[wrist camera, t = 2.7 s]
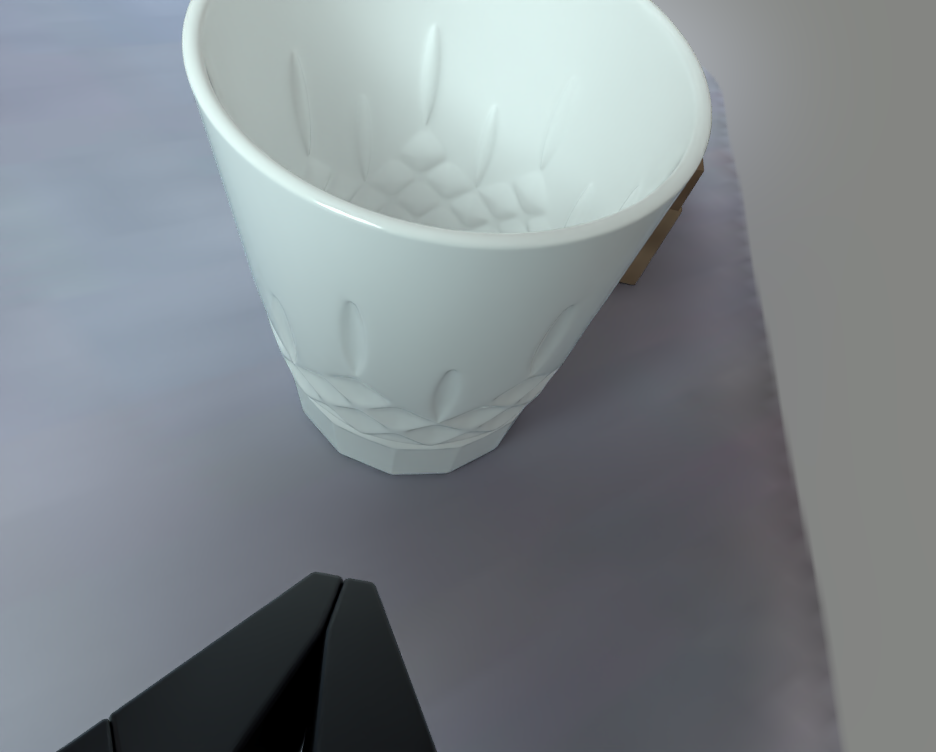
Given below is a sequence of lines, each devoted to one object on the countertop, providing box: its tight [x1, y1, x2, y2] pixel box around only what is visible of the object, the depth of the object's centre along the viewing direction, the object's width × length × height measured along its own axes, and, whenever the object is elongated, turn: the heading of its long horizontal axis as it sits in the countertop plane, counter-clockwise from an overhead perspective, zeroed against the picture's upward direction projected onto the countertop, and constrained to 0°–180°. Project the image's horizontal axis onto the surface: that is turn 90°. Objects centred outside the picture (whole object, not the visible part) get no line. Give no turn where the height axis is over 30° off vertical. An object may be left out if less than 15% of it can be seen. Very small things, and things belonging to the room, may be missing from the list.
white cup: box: [182, 0, 712, 475], centre depth 13 cm, size 8×8×10 cm
